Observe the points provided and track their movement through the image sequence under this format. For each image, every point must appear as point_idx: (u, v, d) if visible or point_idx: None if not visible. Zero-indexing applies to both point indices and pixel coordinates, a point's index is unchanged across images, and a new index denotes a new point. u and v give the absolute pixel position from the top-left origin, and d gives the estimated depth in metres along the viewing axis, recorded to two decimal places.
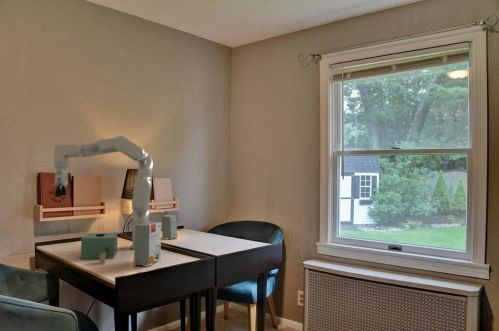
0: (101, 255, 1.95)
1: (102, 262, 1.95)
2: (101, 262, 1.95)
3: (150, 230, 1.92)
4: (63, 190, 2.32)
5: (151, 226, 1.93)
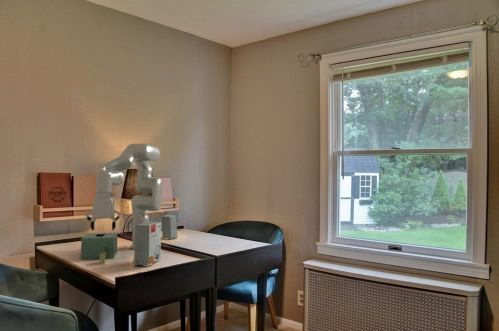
0: (101, 255, 1.95)
1: (102, 262, 1.95)
2: (101, 262, 1.95)
3: (149, 230, 1.92)
4: (93, 224, 1.98)
5: (151, 226, 1.93)
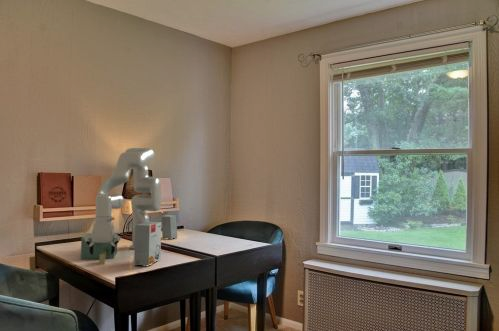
0: (101, 255, 1.95)
1: (102, 262, 1.95)
2: (101, 262, 1.95)
3: (149, 230, 1.92)
4: (93, 248, 1.97)
5: (151, 226, 1.93)
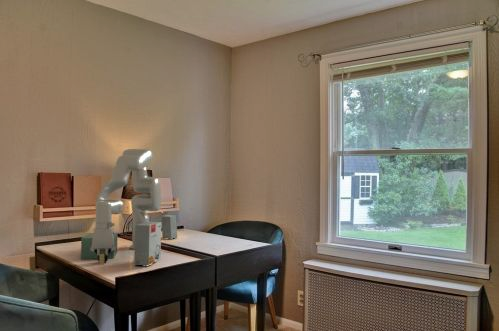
0: (101, 255, 1.95)
1: (102, 262, 1.95)
2: (101, 262, 1.95)
3: (149, 230, 1.92)
4: None
5: (151, 226, 1.93)
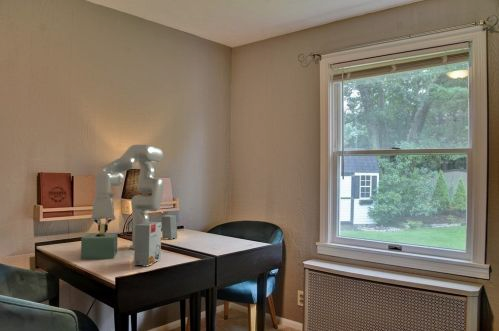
0: (101, 225, 2.00)
1: (102, 231, 1.99)
2: (101, 231, 1.99)
3: (149, 230, 1.92)
4: None
5: (151, 226, 1.93)
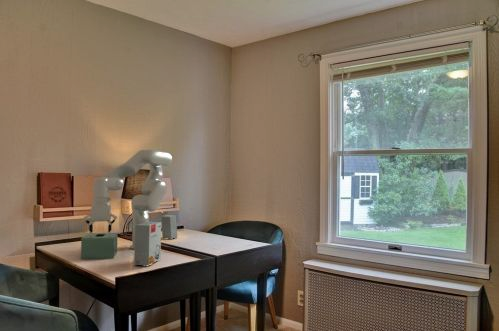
0: None
1: None
2: None
3: (149, 230, 1.92)
4: (92, 226, 2.14)
5: (151, 226, 1.93)
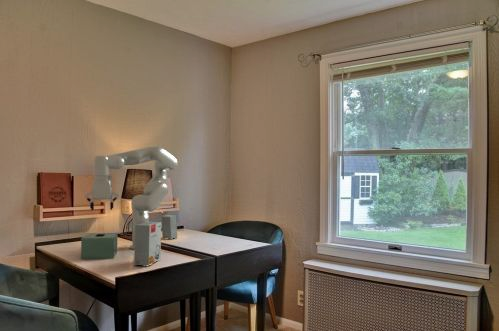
0: None
1: None
2: None
3: (149, 230, 1.92)
4: (93, 204, 2.16)
5: (151, 226, 1.93)
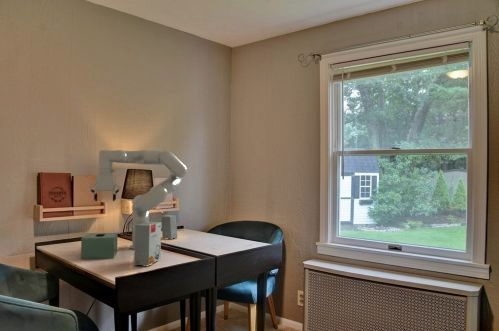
0: None
1: None
2: None
3: (149, 230, 1.92)
4: None
5: (151, 226, 1.93)
